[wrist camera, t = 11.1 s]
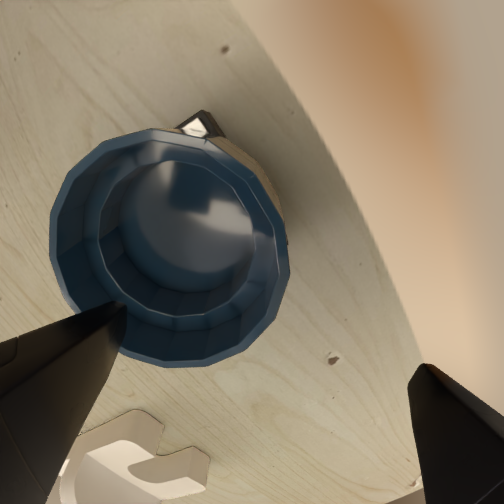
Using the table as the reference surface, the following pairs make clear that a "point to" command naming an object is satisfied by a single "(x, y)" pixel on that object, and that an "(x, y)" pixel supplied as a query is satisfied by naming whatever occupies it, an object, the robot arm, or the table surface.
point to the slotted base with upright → (129, 465)
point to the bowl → (172, 244)
